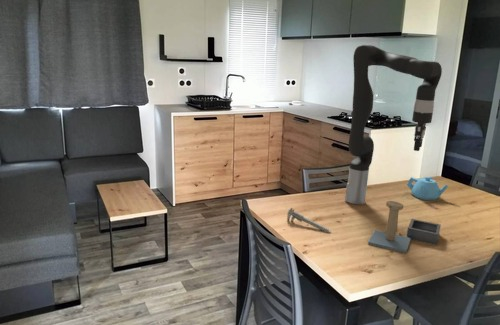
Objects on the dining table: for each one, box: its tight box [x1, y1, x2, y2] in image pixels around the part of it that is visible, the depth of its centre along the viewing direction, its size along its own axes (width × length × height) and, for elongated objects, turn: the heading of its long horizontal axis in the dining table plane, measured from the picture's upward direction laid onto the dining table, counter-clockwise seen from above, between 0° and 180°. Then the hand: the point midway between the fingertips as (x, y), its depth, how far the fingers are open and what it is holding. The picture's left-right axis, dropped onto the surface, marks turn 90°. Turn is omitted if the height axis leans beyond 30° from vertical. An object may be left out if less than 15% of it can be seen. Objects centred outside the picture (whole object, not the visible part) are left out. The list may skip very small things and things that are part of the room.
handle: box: [385, 200, 404, 241], centre depth 158 cm, size 5×6×15 cm
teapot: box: [406, 176, 449, 201], centre depth 214 cm, size 15×15×11 cm
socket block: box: [406, 218, 442, 246], centre depth 166 cm, size 11×11×4 cm
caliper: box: [286, 207, 332, 234], centre depth 171 cm, size 20×1×6 cm, turn 55°
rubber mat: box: [367, 229, 412, 254], centre depth 160 cm, size 14×13×1 cm
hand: (417, 148), depth 173 cm, fingers open, 8 cm apart
